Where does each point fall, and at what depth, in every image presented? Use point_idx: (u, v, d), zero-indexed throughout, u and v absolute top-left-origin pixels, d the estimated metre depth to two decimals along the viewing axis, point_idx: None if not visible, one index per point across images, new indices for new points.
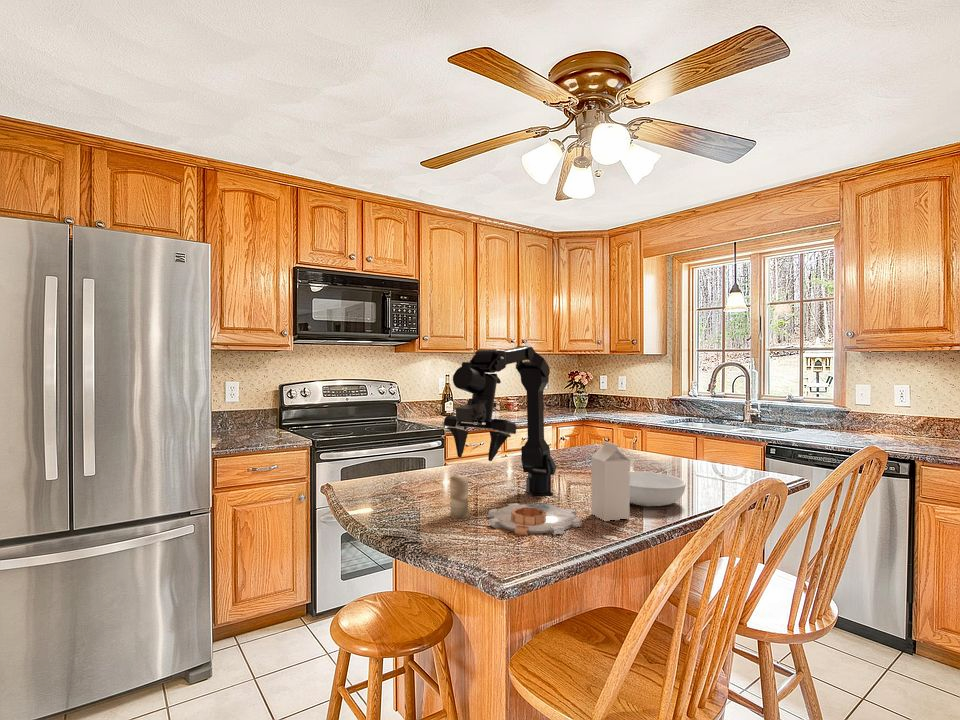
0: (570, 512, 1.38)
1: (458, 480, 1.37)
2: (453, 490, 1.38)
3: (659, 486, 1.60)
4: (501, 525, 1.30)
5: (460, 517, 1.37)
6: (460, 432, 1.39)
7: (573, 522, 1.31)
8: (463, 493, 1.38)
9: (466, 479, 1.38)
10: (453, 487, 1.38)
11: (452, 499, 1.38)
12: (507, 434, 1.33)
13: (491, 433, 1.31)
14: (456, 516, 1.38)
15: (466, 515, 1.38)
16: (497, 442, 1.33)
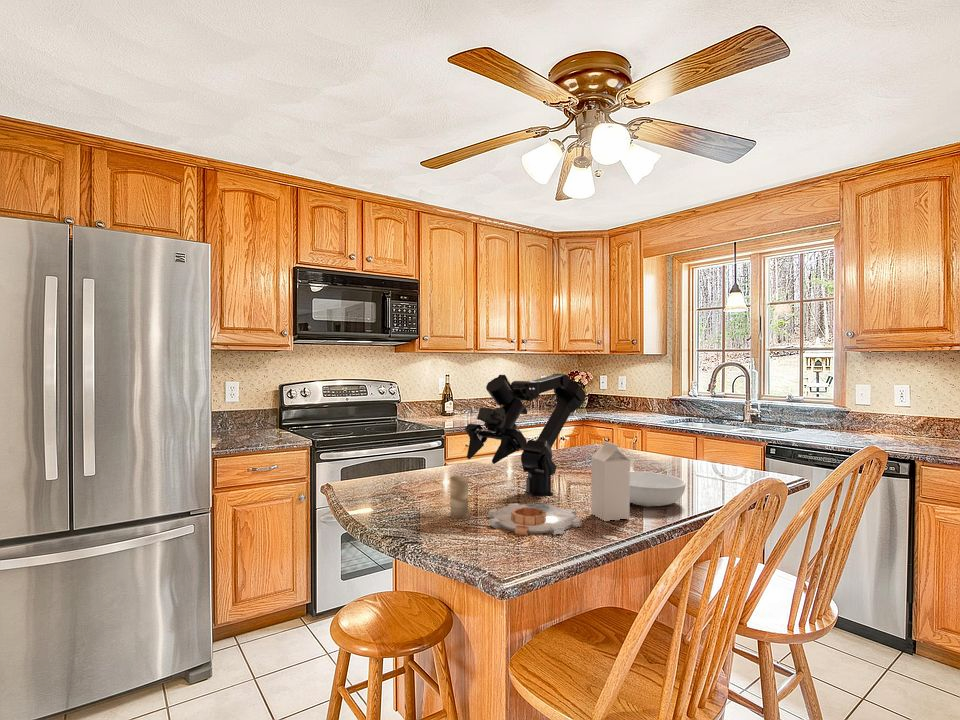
0: (570, 512, 1.38)
1: (458, 480, 1.37)
2: (453, 490, 1.38)
3: (659, 486, 1.60)
4: (501, 525, 1.30)
5: (460, 517, 1.37)
6: (476, 439, 1.52)
7: (573, 522, 1.31)
8: (463, 493, 1.38)
9: (466, 479, 1.38)
10: (453, 487, 1.38)
11: (452, 499, 1.38)
12: (516, 445, 1.44)
13: (502, 437, 1.43)
14: (456, 516, 1.38)
15: (466, 515, 1.38)
16: (505, 450, 1.44)
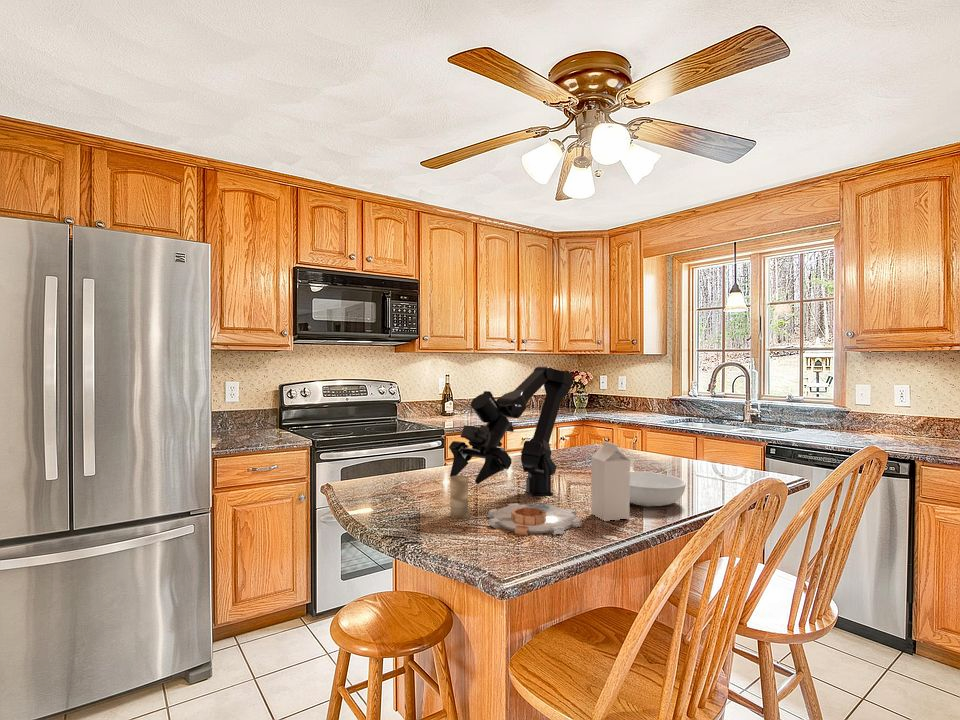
0: (570, 512, 1.38)
1: (458, 480, 1.37)
2: (453, 490, 1.38)
3: (659, 486, 1.60)
4: (501, 525, 1.30)
5: (460, 517, 1.37)
6: (461, 457, 1.47)
7: (573, 522, 1.31)
8: (463, 493, 1.38)
9: (466, 479, 1.38)
10: (453, 487, 1.38)
11: (452, 499, 1.38)
12: (500, 465, 1.39)
13: (486, 456, 1.39)
14: (456, 516, 1.38)
15: (466, 515, 1.38)
16: (489, 469, 1.39)
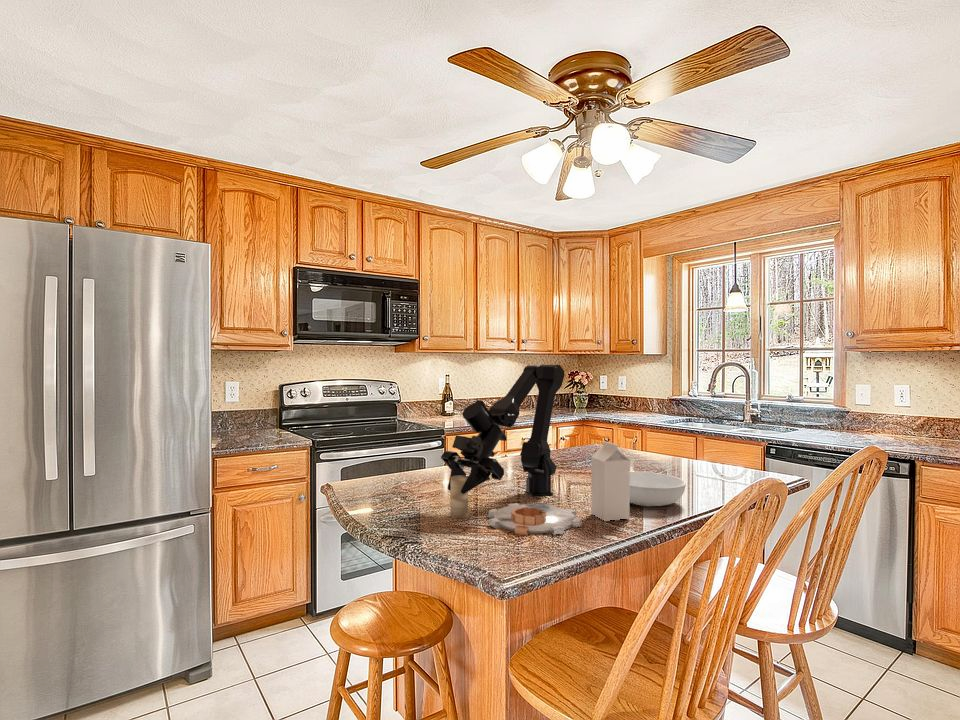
0: (570, 512, 1.38)
1: (458, 480, 1.37)
2: (452, 490, 1.38)
3: (659, 486, 1.60)
4: (501, 525, 1.30)
5: (460, 517, 1.37)
6: (458, 469, 1.43)
7: (573, 522, 1.31)
8: None
9: (466, 479, 1.38)
10: (453, 487, 1.38)
11: (452, 499, 1.38)
12: (486, 474, 1.39)
13: (472, 466, 1.38)
14: (456, 516, 1.37)
15: (466, 515, 1.38)
16: (475, 479, 1.39)
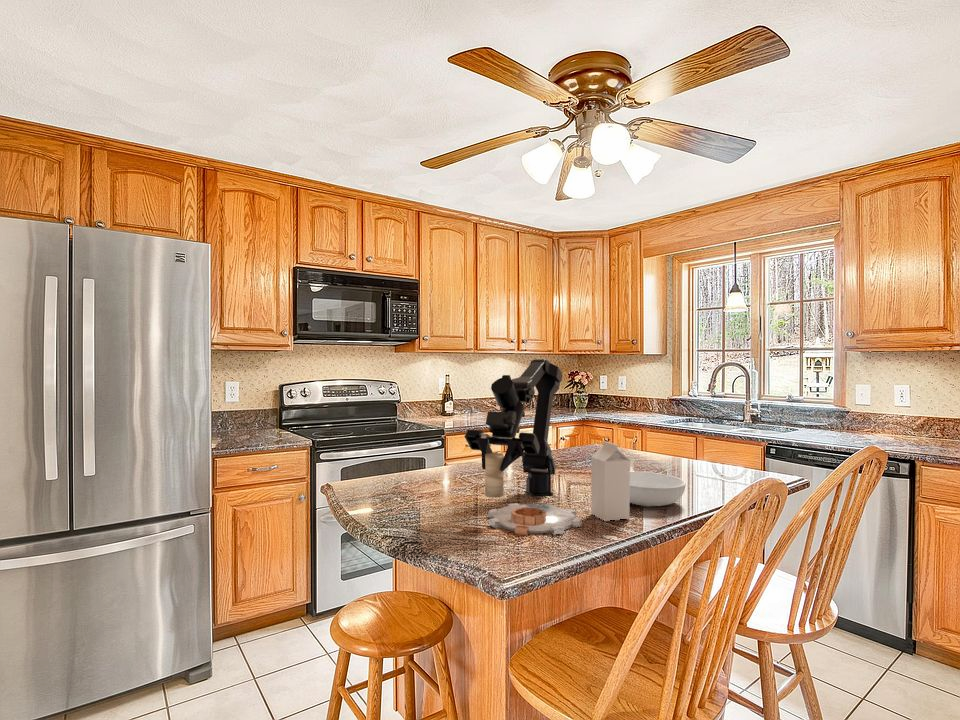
0: (570, 512, 1.38)
1: (496, 457, 1.31)
2: (490, 468, 1.32)
3: (659, 486, 1.60)
4: (501, 525, 1.30)
5: (498, 496, 1.32)
6: (488, 446, 1.37)
7: (573, 522, 1.31)
8: (501, 471, 1.32)
9: (503, 456, 1.33)
10: (491, 465, 1.32)
11: (489, 478, 1.32)
12: (522, 450, 1.35)
13: (509, 442, 1.33)
14: (494, 495, 1.31)
15: None
16: (511, 455, 1.34)
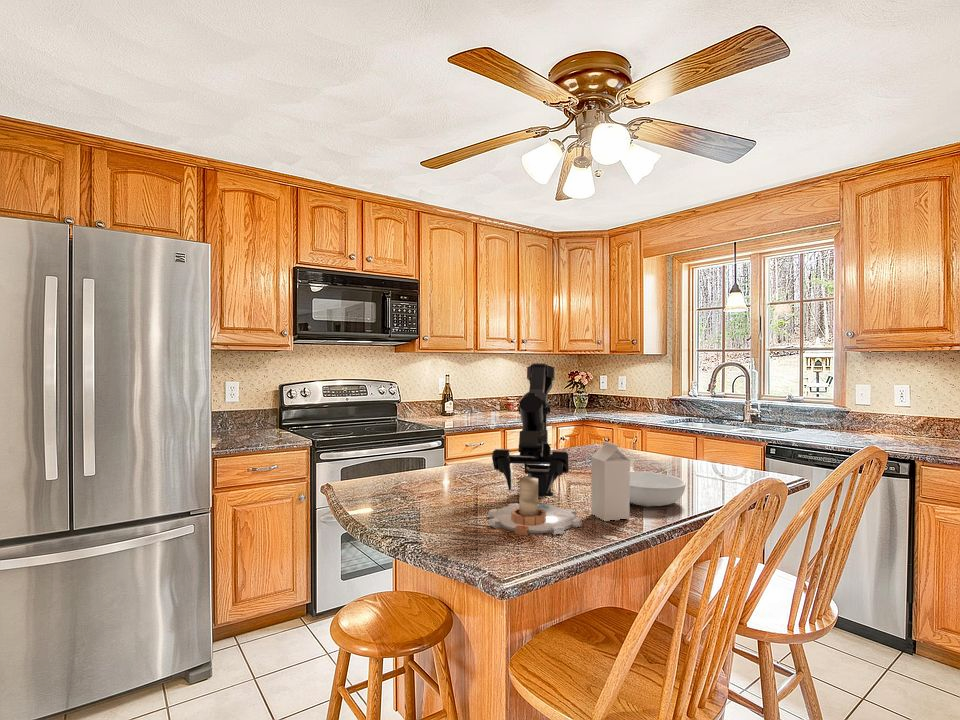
0: (570, 512, 1.38)
1: (534, 482, 1.29)
2: (527, 493, 1.29)
3: (659, 486, 1.60)
4: (501, 525, 1.30)
5: None
6: None
7: (573, 522, 1.31)
8: (537, 495, 1.30)
9: None
10: (528, 490, 1.29)
11: (526, 503, 1.29)
12: None
13: (552, 462, 1.31)
14: None
15: None
16: (552, 475, 1.32)
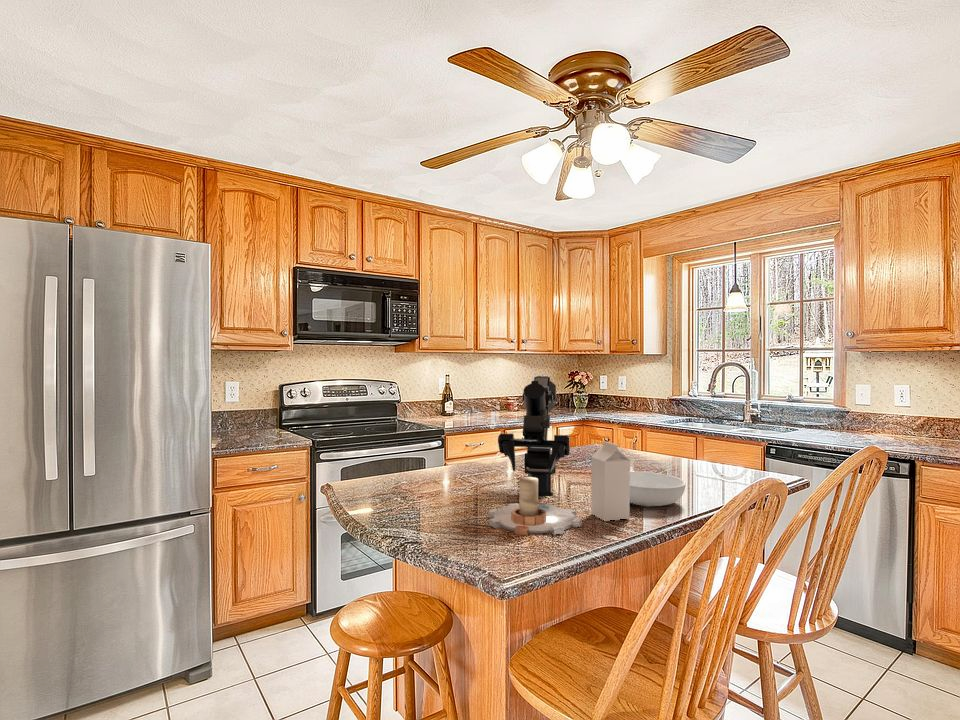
0: (570, 512, 1.38)
1: (534, 482, 1.29)
2: (527, 493, 1.29)
3: (659, 486, 1.60)
4: (501, 525, 1.30)
5: None
6: None
7: (573, 522, 1.31)
8: (537, 495, 1.30)
9: (537, 480, 1.31)
10: (528, 490, 1.29)
11: (526, 503, 1.29)
12: (564, 452, 1.43)
13: (554, 445, 1.41)
14: None
15: None
16: (555, 457, 1.41)
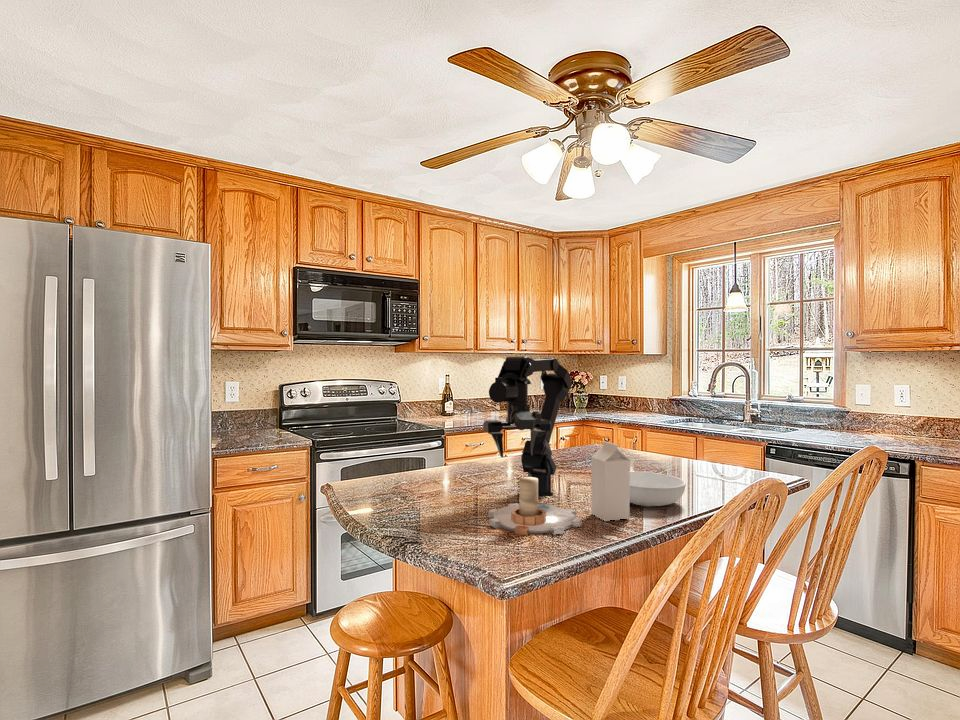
0: (570, 512, 1.38)
1: (534, 482, 1.29)
2: (527, 493, 1.29)
3: (659, 486, 1.60)
4: (501, 525, 1.30)
5: None
6: None
7: (573, 522, 1.31)
8: (537, 495, 1.30)
9: (537, 480, 1.31)
10: (528, 490, 1.29)
11: (526, 503, 1.29)
12: None
13: (539, 433, 1.53)
14: None
15: None
16: None
